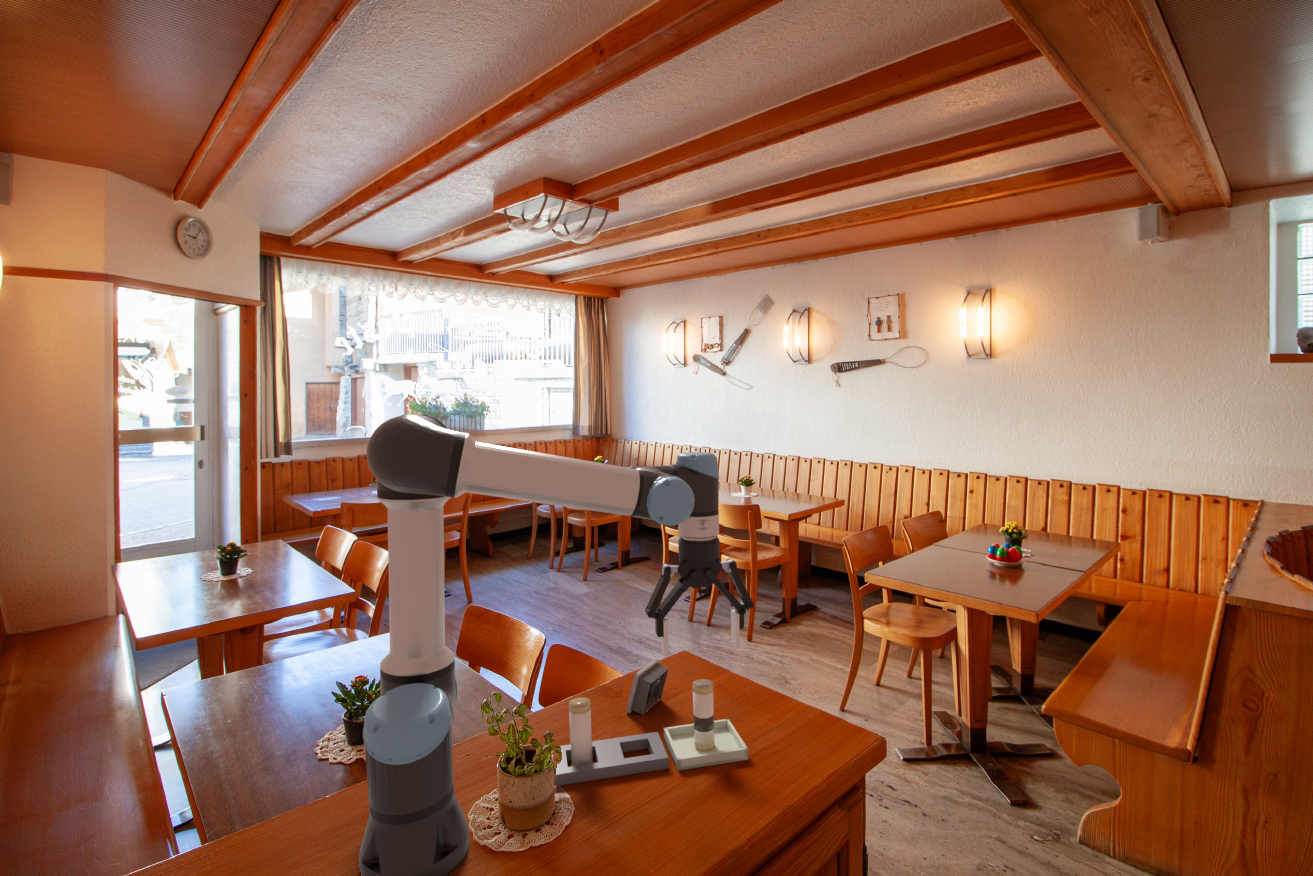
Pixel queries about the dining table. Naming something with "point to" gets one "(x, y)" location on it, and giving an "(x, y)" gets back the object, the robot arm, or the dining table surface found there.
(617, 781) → the dining table surface
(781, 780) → the dining table surface
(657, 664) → the electrical switch
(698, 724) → the fuse
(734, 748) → the parts tray
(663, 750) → the fuse block
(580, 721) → the fuse
